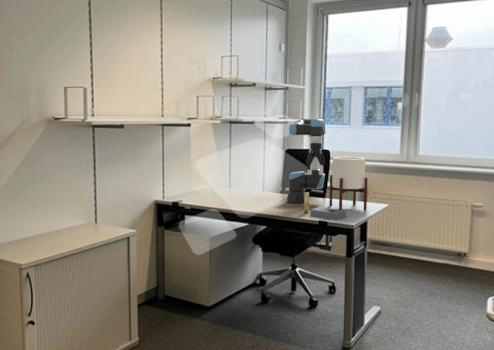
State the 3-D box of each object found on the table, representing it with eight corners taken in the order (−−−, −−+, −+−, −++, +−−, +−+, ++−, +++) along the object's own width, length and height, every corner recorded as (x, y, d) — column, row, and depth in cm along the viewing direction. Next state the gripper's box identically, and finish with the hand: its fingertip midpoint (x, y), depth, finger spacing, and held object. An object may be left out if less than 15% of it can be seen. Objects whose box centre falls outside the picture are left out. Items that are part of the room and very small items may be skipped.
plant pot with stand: (369, 210, 340) (370, 159, 335) (338, 211, 335) (340, 159, 331) (355, 204, 361) (357, 156, 357) (327, 205, 357) (328, 156, 352)
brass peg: (303, 212, 329) (303, 192, 327) (305, 212, 331) (306, 191, 330) (307, 213, 327) (307, 192, 326) (309, 212, 330) (309, 192, 328)
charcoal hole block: (310, 215, 320) (310, 209, 320) (320, 212, 329) (320, 207, 329) (337, 219, 308) (337, 213, 307) (346, 216, 317) (346, 210, 316)
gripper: (309, 141, 313) (309, 174, 313) (330, 143, 331) (330, 174, 332) (300, 142, 318) (299, 174, 318) (321, 144, 337) (321, 174, 337)
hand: (315, 174), depth 325 cm, fingers open, 13 cm apart
